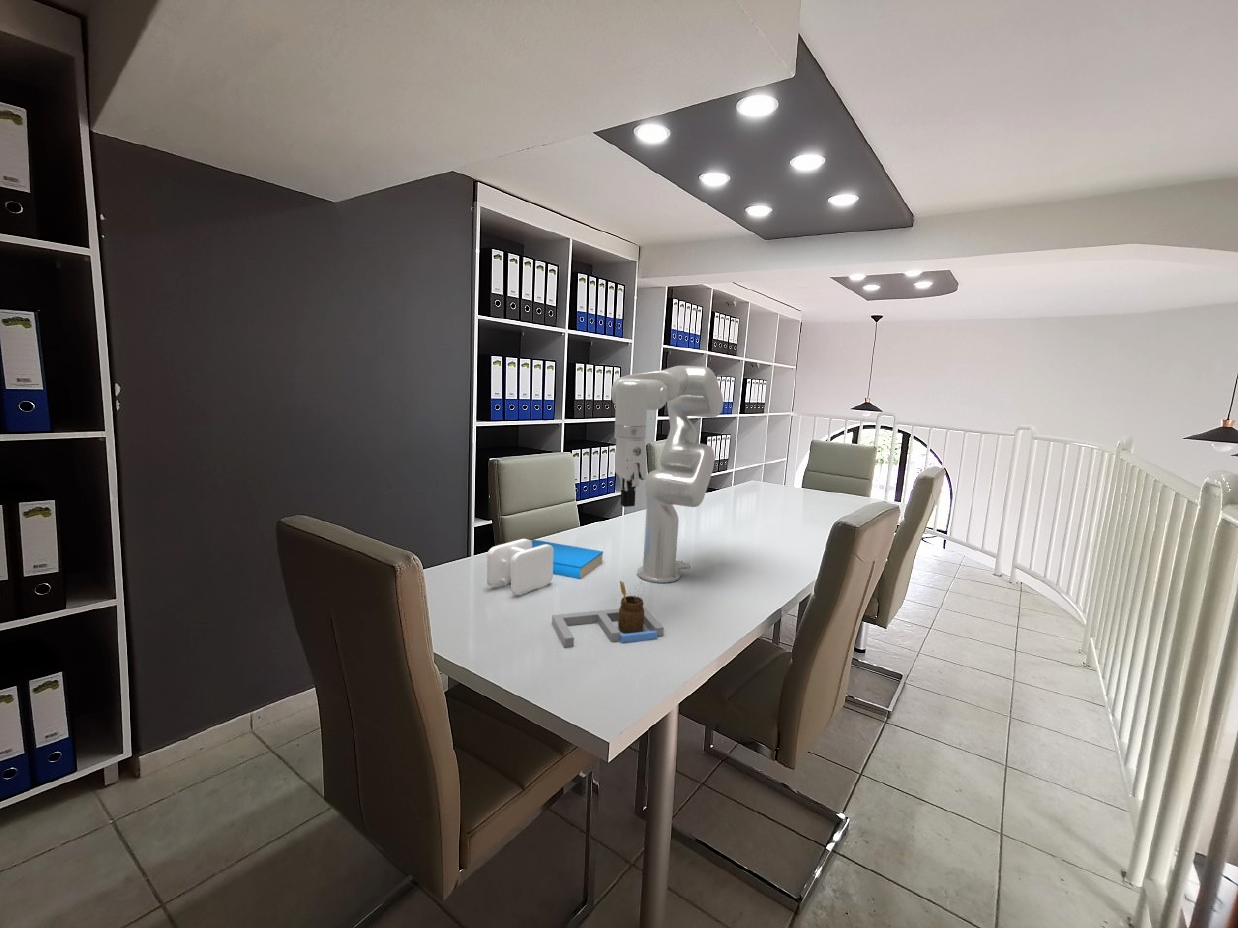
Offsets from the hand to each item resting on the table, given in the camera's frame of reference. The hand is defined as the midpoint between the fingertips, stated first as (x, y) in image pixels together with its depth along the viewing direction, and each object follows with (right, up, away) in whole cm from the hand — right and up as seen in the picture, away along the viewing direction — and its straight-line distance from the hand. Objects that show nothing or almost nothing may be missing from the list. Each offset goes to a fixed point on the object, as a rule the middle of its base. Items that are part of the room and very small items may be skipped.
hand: (627, 505), depth 138 cm
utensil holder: (0, -28, -9) cm, 30 cm away
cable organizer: (-29, -23, +13) cm, 39 cm away
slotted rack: (-5, -28, -10) cm, 30 cm away
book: (-22, -21, +33) cm, 45 cm away
